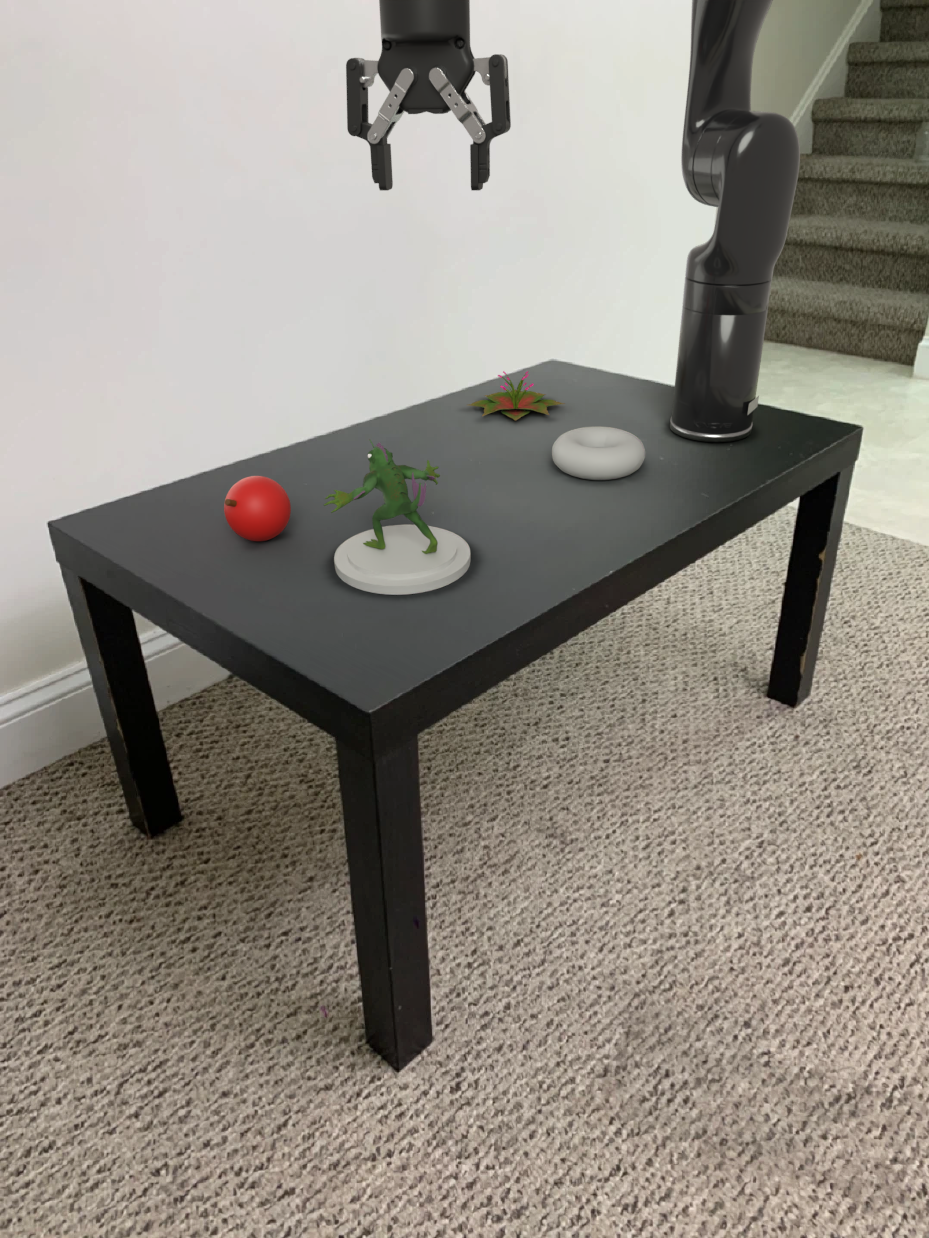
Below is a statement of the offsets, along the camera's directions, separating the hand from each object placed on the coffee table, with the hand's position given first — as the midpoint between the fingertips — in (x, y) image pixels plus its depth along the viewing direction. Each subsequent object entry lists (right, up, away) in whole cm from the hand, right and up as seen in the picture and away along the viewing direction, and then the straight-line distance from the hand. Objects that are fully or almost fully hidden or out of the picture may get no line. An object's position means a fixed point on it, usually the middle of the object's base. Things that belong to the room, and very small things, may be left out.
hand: (430, 189), depth 85 cm
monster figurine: (-2, -34, -2) cm, 34 cm away
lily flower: (+10, -13, +34) cm, 37 cm away
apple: (-14, -29, +4) cm, 33 cm away
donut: (+17, -23, +16) cm, 33 cm away
